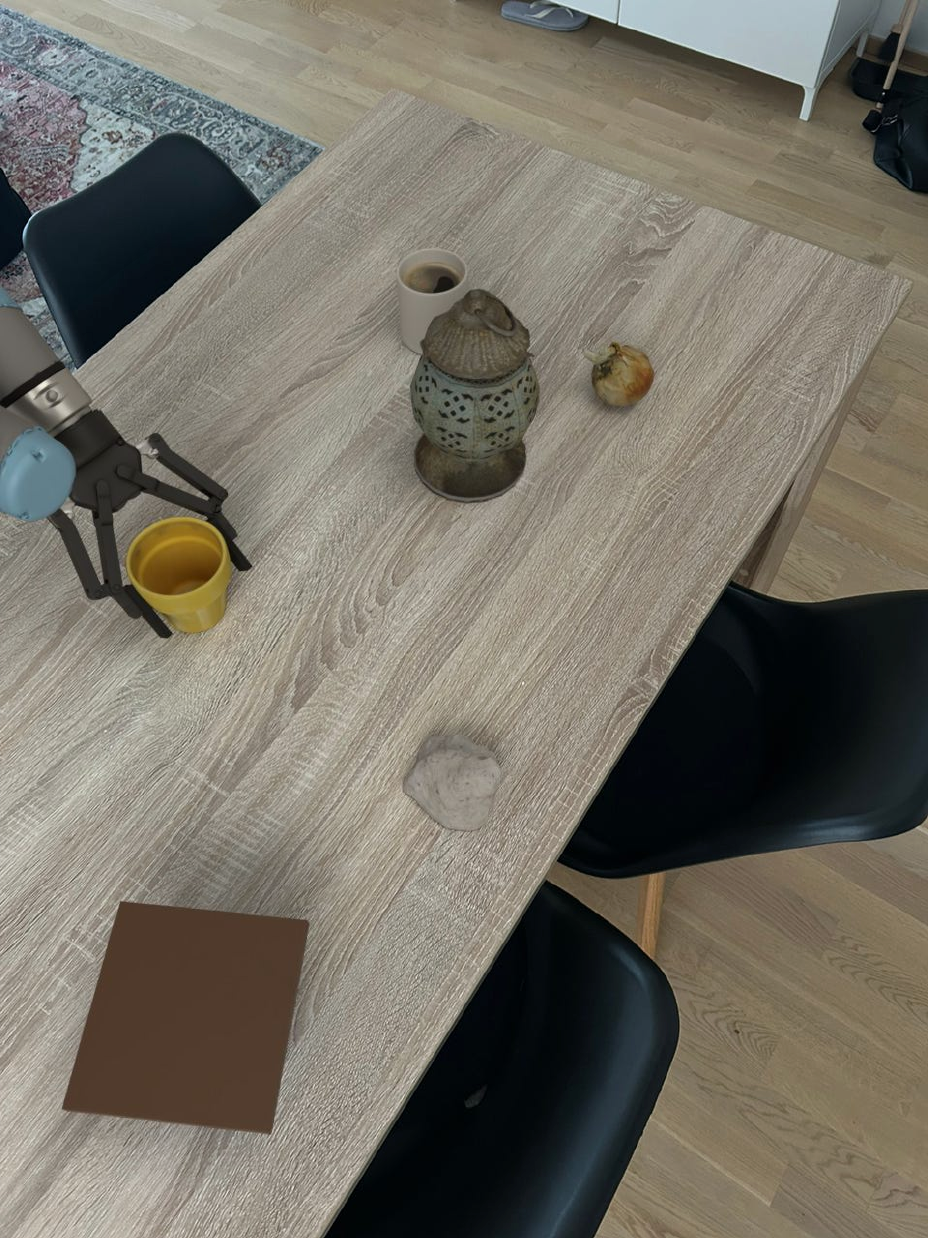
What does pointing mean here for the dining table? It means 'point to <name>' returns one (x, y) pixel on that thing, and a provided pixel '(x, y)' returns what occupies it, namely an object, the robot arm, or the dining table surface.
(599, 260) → the dining table surface
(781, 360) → the dining table surface
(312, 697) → the dining table surface
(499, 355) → the lantern
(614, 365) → the onion
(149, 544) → the flower pot
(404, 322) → the mug
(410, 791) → the stone
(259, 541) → the dining table surface
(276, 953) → the stand
